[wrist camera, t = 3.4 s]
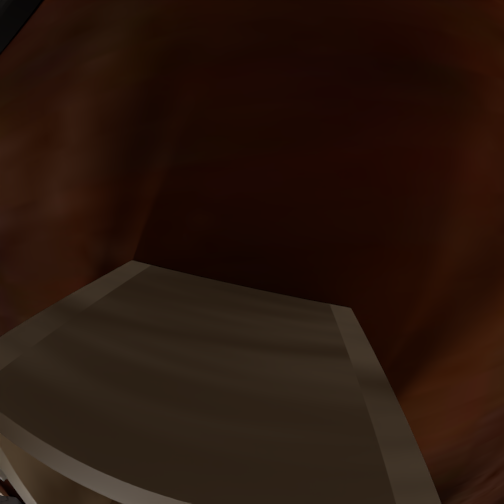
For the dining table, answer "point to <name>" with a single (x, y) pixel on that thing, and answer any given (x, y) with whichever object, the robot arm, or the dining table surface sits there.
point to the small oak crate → (200, 400)
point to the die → (9, 500)
